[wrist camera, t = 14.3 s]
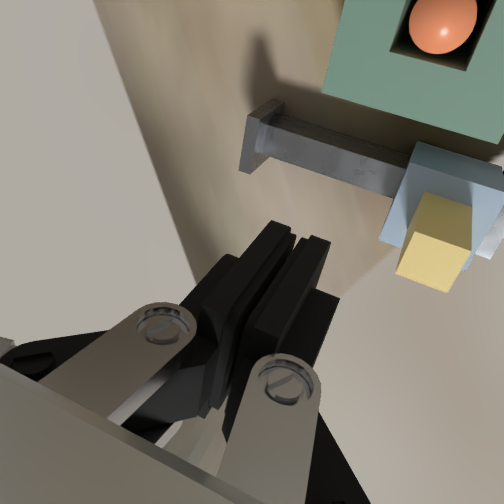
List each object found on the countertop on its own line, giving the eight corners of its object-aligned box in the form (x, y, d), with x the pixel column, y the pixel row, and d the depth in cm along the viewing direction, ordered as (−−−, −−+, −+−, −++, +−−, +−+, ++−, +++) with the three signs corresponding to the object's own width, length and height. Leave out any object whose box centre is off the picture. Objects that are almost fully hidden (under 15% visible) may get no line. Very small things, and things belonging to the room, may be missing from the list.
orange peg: (463, 41, 28) (459, 60, 22) (416, 29, 28) (400, 45, 22) (486, -15, 26) (488, -9, 20) (435, -26, 26) (423, -23, 21)
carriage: (466, 230, 34) (462, 322, 25) (390, 204, 36) (362, 283, 27) (505, 160, 31) (516, 238, 22) (419, 134, 32) (397, 198, 23)
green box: (493, 107, 30) (497, 144, 24) (351, 68, 32) (321, 92, 26) (588, -85, 24) (628, -103, 17) (404, -116, 26) (380, -142, 20)
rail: (488, 225, 34) (489, 259, 30) (262, 149, 38) (238, 170, 34) (518, 174, 31) (524, 203, 27) (272, 99, 36) (247, 115, 32)
